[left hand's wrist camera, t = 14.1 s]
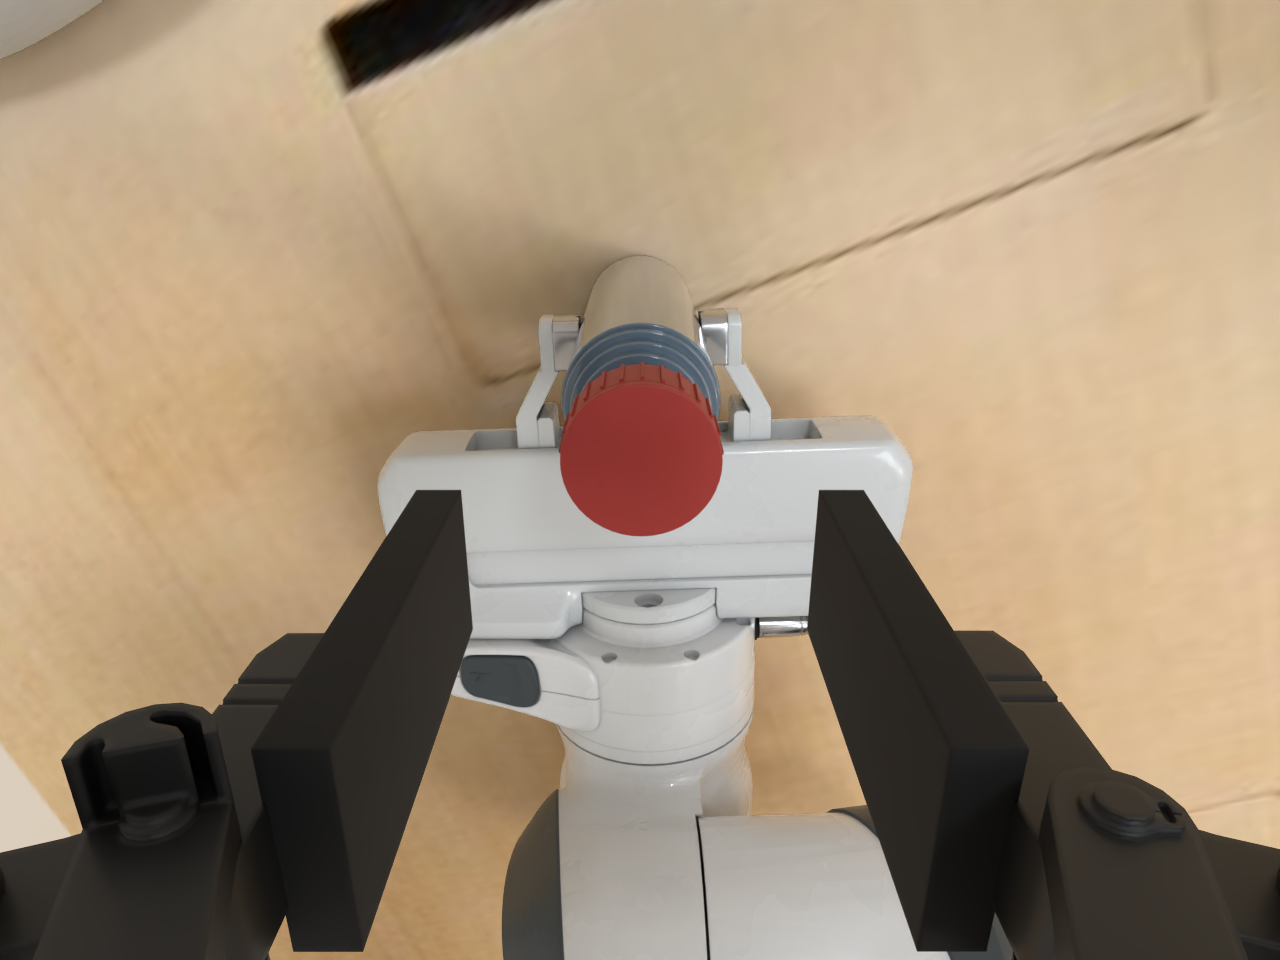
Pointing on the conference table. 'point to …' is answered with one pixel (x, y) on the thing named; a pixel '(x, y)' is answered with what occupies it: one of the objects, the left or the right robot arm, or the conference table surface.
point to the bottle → (640, 329)
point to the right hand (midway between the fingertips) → (638, 313)
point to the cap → (641, 450)
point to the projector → (36, 20)
